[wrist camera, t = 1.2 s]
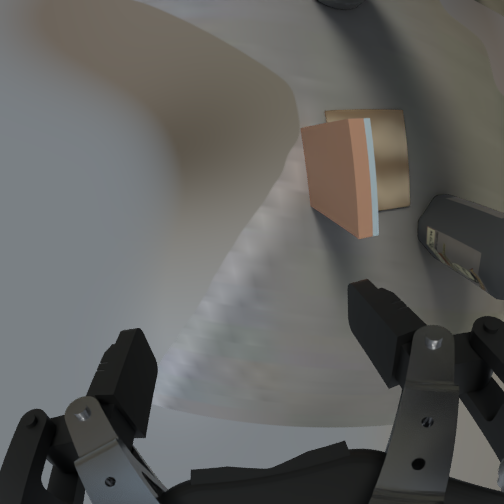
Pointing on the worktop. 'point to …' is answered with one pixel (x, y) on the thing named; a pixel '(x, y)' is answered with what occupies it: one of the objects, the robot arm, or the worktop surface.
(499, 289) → the liquor
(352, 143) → the tile
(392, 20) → the worktop surface
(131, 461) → the robot arm
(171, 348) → the worktop surface
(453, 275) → the worktop surface
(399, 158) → the mat
